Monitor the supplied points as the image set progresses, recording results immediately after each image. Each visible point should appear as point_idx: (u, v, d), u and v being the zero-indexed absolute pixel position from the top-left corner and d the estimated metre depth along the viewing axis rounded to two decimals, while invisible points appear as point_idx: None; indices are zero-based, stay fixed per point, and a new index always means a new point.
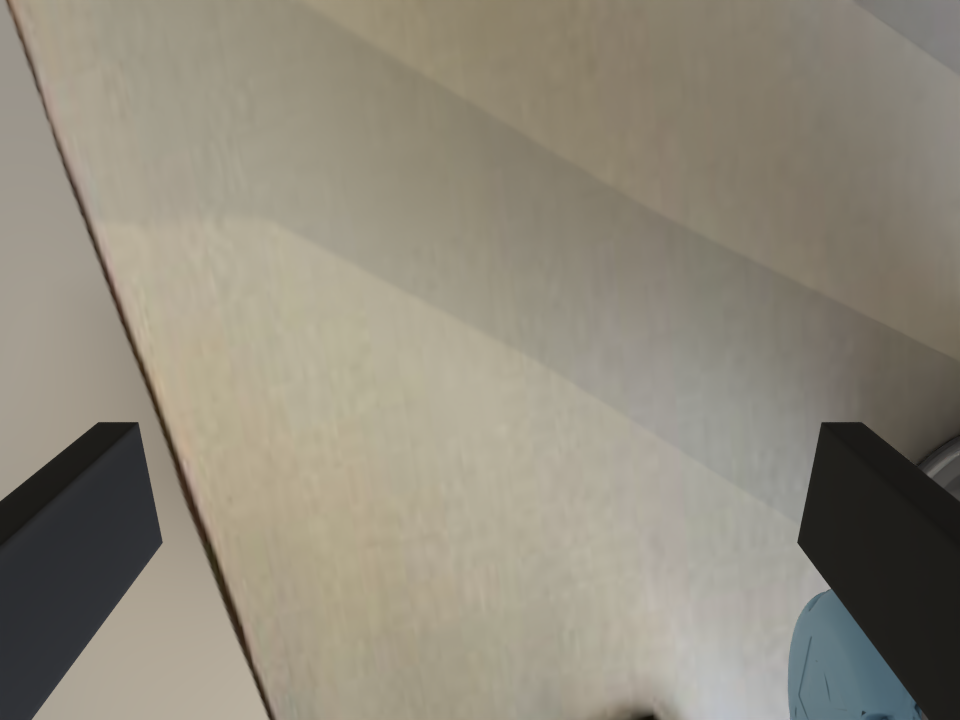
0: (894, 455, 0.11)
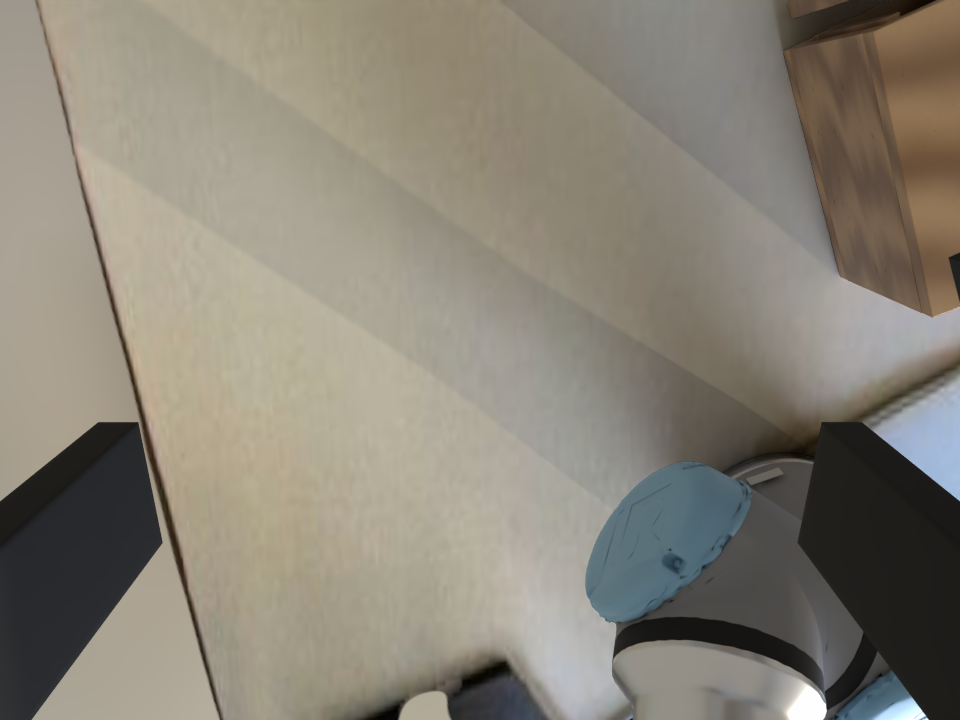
0: (894, 455, 0.11)
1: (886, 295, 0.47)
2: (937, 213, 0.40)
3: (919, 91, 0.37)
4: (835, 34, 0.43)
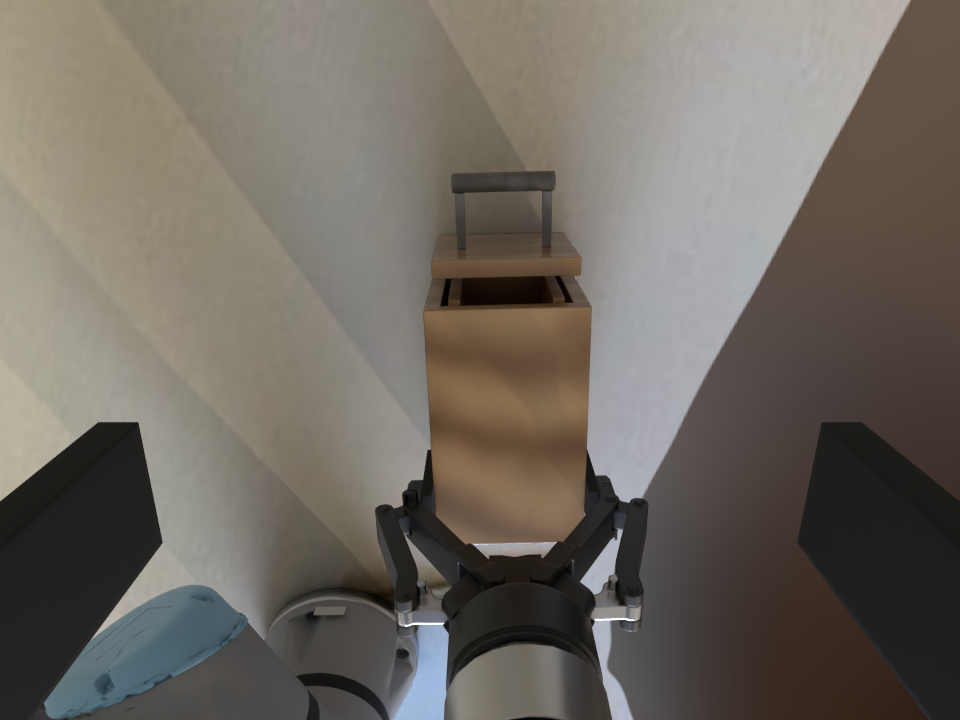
0: (894, 455, 0.11)
1: None
2: (453, 466, 0.46)
3: (453, 369, 0.43)
4: None
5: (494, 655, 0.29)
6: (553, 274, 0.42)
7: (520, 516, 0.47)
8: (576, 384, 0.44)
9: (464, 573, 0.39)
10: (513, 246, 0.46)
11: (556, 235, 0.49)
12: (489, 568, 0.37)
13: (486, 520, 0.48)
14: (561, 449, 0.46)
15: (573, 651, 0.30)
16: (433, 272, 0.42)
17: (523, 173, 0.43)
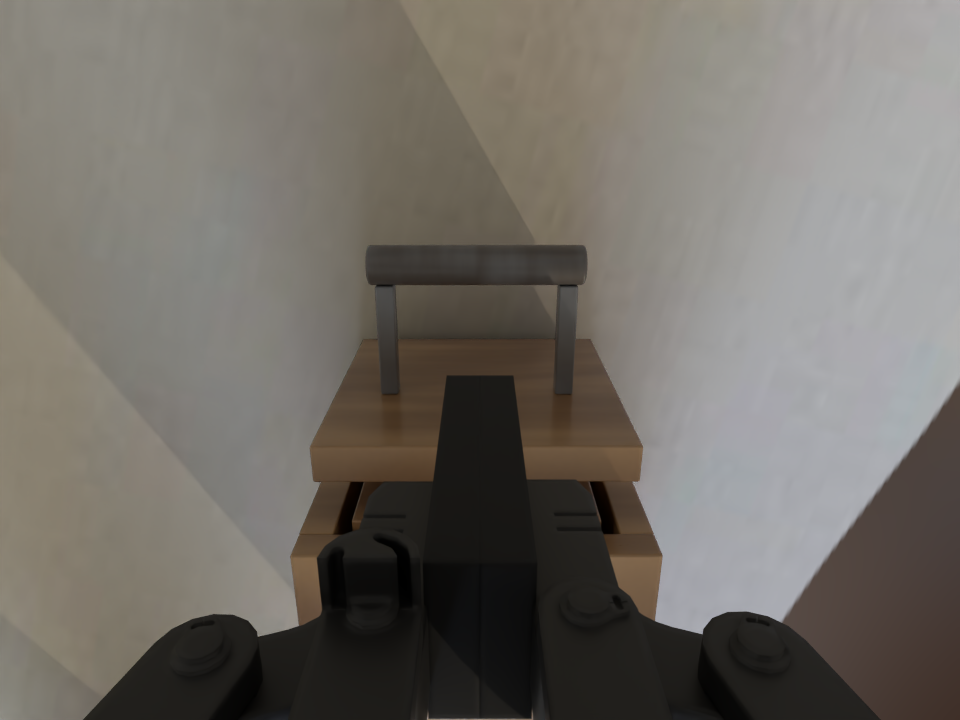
0: (509, 398, 0.13)
1: None
2: None
3: None
4: None
5: None
6: (579, 479, 0.19)
7: None
8: None
9: None
10: None
11: (578, 350, 0.26)
12: None
13: None
14: None
15: None
16: (315, 469, 0.19)
17: (519, 250, 0.20)
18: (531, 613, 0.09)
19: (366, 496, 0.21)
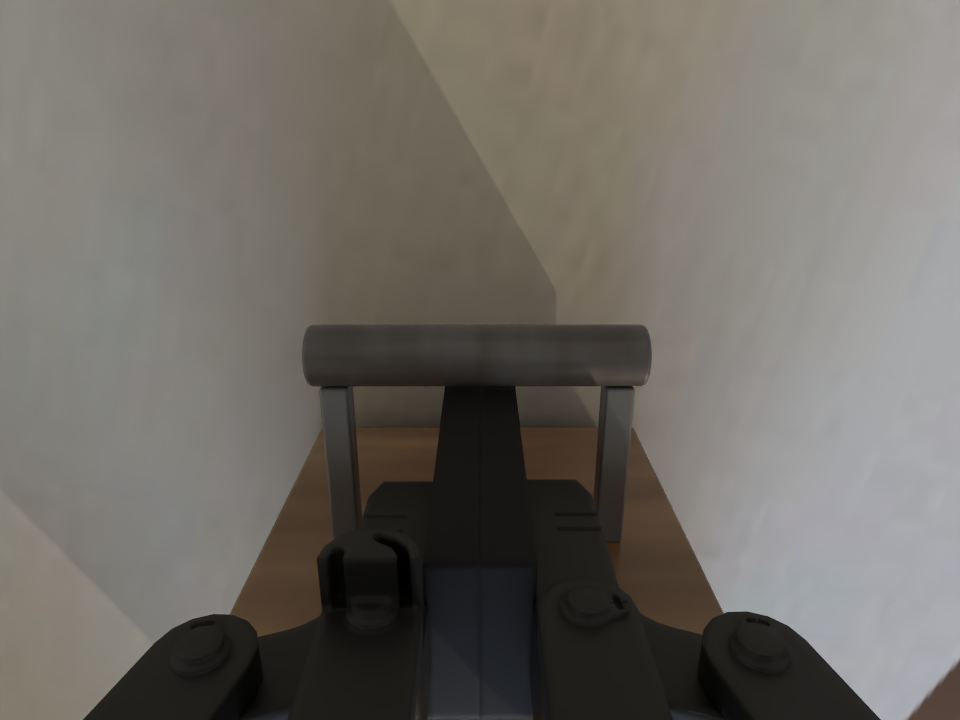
0: (509, 398, 0.13)
1: None
2: None
3: None
4: None
5: None
6: None
7: None
8: None
9: None
10: None
11: None
12: None
13: None
14: None
15: None
16: None
17: (544, 335, 0.13)
18: (531, 613, 0.09)
19: None
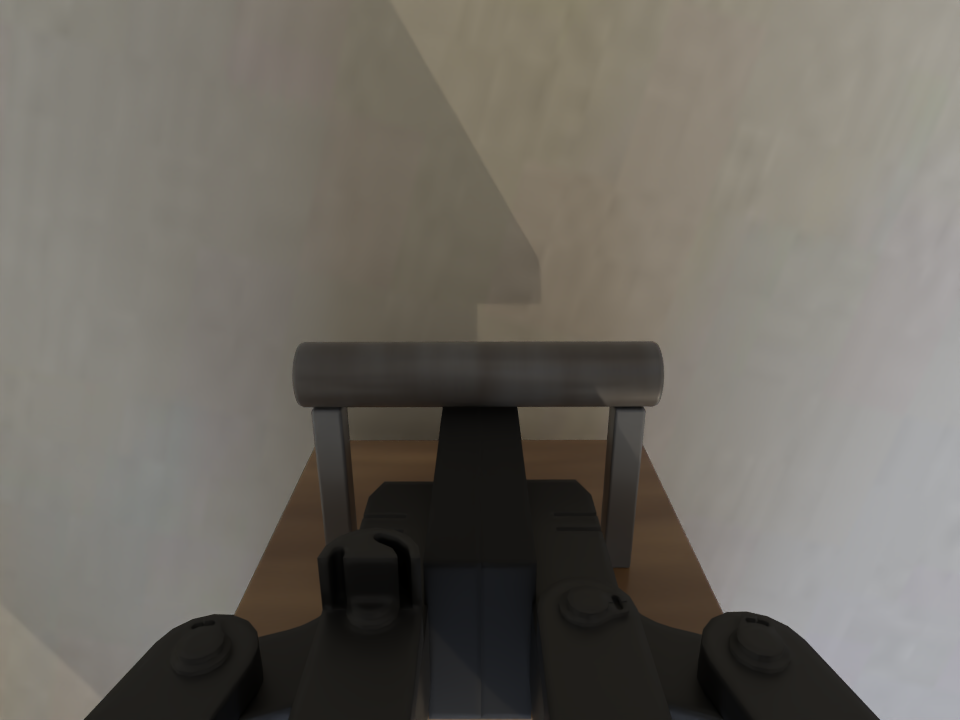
0: None
1: None
2: None
3: None
4: None
5: None
6: None
7: None
8: None
9: None
10: None
11: None
12: None
13: None
14: None
15: None
16: None
17: (550, 354, 0.12)
18: (531, 613, 0.09)
19: None
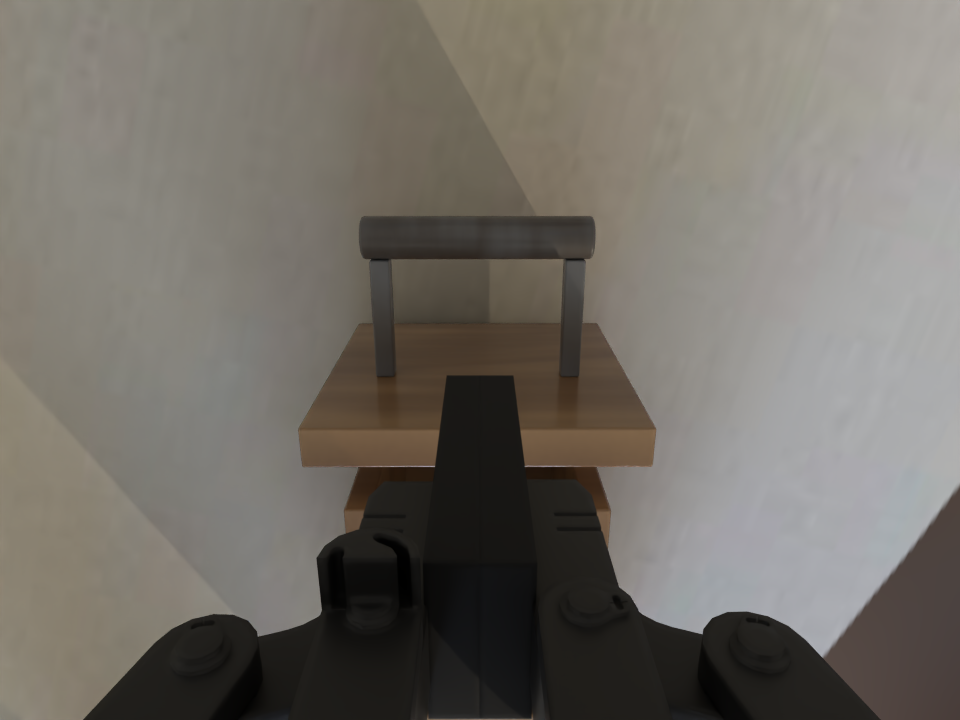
0: (509, 398, 0.13)
1: None
2: None
3: None
4: None
5: None
6: (588, 464, 0.18)
7: None
8: None
9: None
10: (498, 371, 0.21)
11: (585, 334, 0.25)
12: None
13: None
14: None
15: None
16: (304, 453, 0.18)
17: (523, 221, 0.19)
18: (531, 613, 0.09)
19: (360, 484, 0.20)
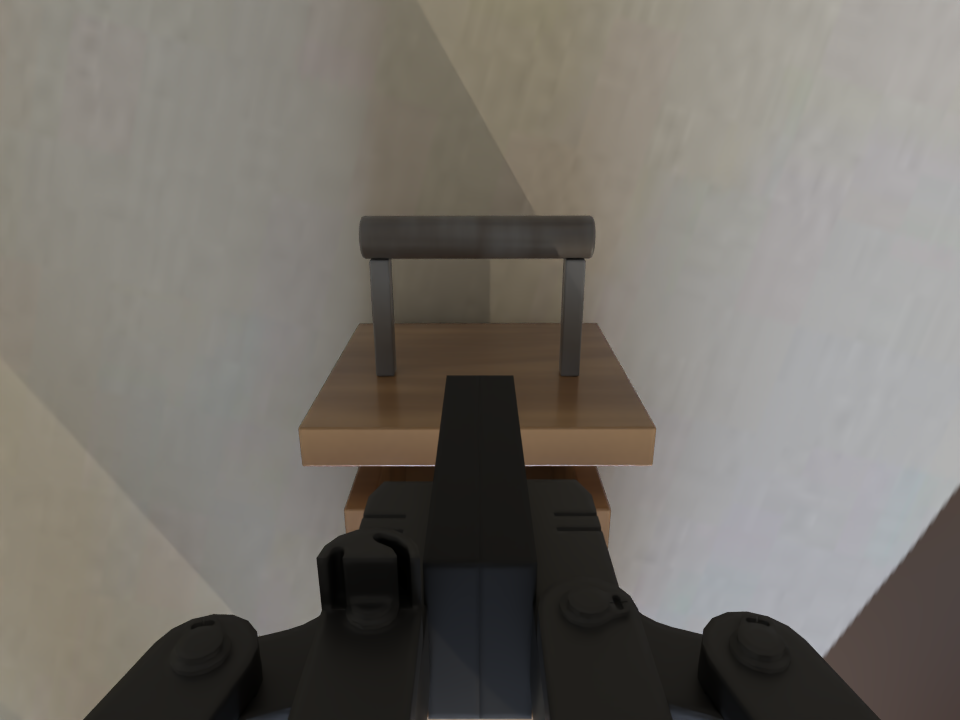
0: (509, 398, 0.13)
1: None
2: None
3: None
4: None
5: None
6: (588, 463, 0.18)
7: None
8: None
9: None
10: (498, 371, 0.21)
11: (585, 334, 0.25)
12: None
13: None
14: None
15: None
16: (304, 452, 0.18)
17: (523, 220, 0.19)
18: (531, 613, 0.09)
19: (360, 484, 0.20)
